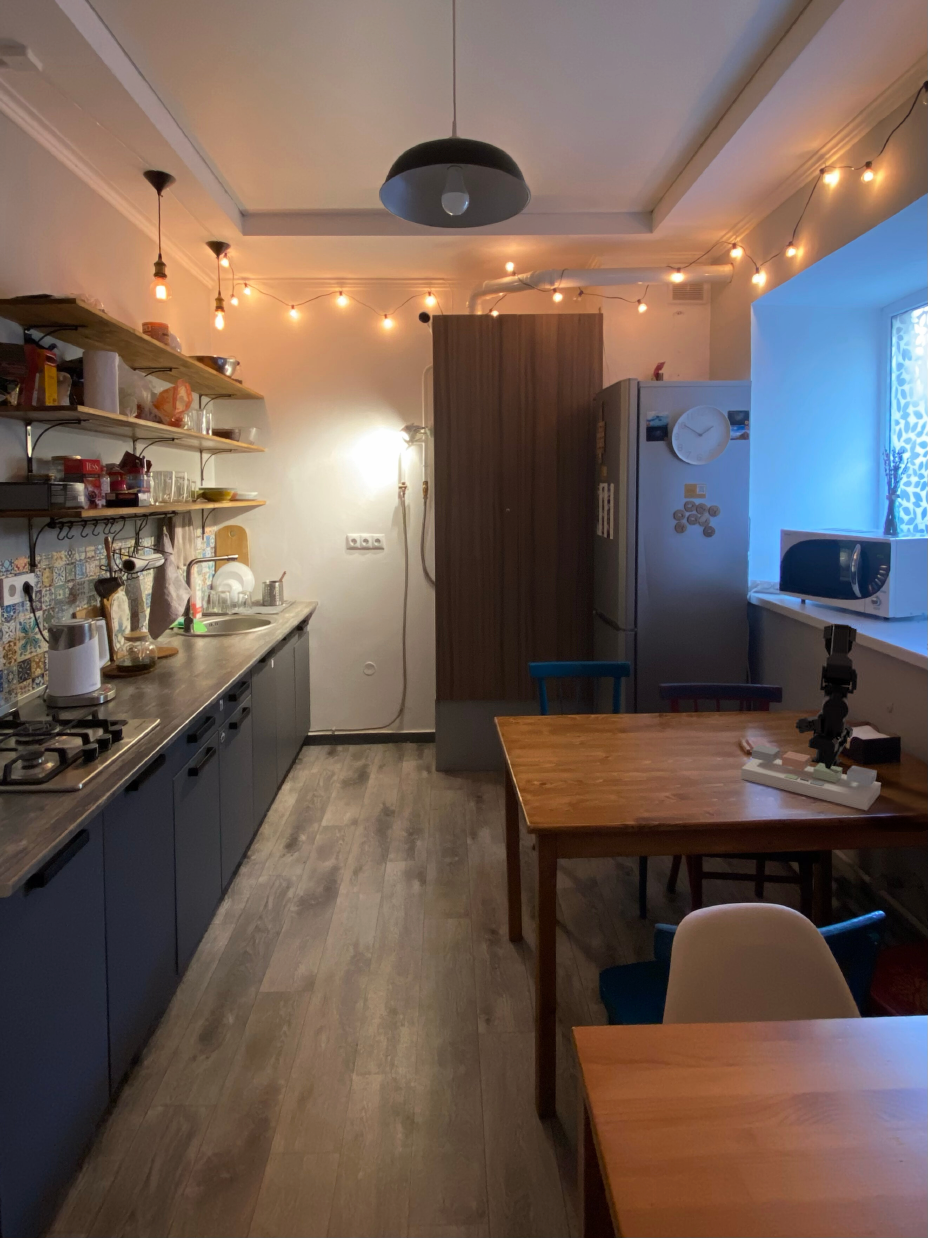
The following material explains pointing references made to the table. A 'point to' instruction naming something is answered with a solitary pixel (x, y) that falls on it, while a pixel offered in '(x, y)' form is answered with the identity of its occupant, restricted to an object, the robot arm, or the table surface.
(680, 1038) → the table surface
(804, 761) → the key terracotta
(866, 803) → the keypad base
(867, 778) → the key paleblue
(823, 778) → the key sage
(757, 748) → the key slate
